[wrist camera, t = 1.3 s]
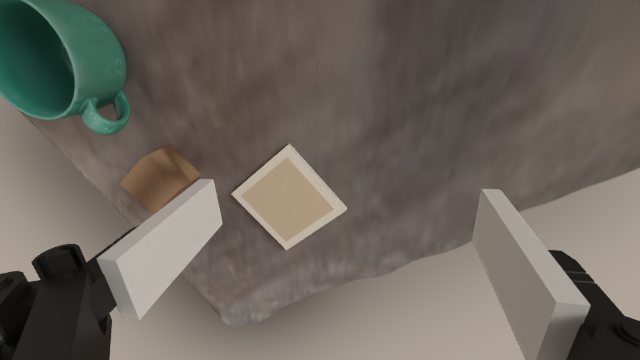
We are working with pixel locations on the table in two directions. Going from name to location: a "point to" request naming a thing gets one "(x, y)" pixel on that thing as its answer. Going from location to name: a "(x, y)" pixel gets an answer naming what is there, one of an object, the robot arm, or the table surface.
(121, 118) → the mug
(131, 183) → the walnut cube
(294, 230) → the coaster
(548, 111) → the table surface
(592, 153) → the table surface
